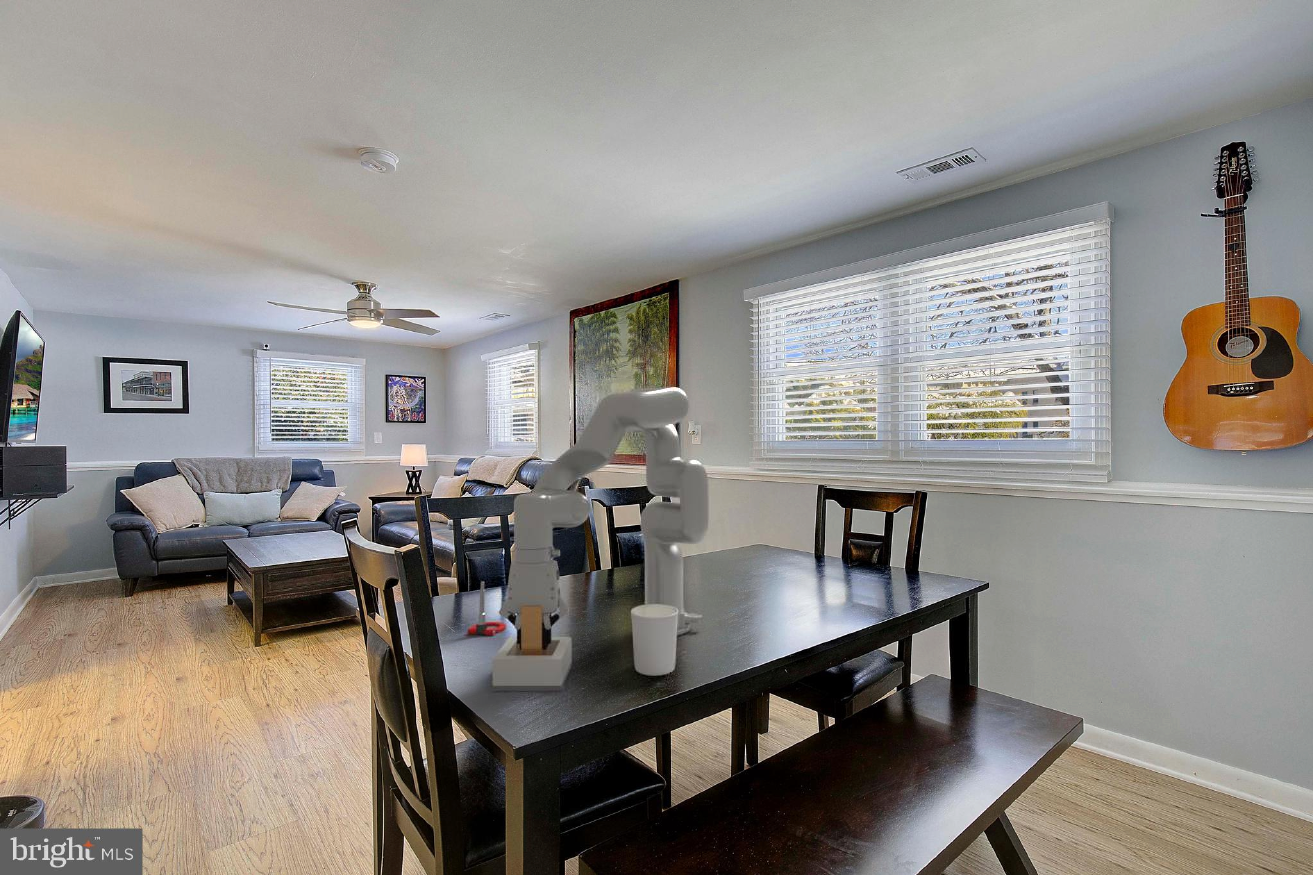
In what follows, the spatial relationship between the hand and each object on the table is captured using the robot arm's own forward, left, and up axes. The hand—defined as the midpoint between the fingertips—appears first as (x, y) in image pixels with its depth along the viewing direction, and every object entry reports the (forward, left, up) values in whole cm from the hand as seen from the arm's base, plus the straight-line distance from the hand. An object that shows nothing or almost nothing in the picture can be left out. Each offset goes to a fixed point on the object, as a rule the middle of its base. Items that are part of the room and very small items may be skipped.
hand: (534, 646), depth 124 cm
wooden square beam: (0, 0, -3) cm, 3 cm away
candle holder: (-24, -5, -6) cm, 25 cm away
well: (0, 0, -6) cm, 6 cm away
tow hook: (+18, -31, -7) cm, 36 cm away
